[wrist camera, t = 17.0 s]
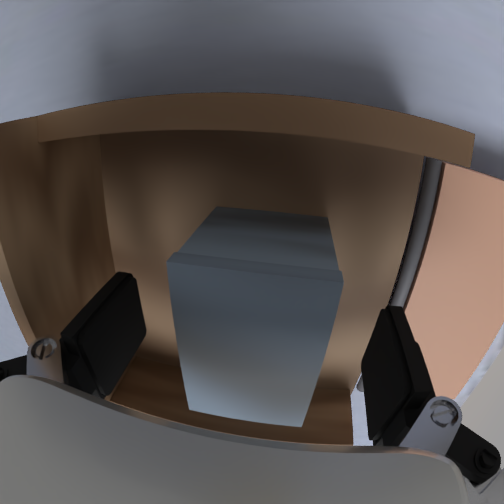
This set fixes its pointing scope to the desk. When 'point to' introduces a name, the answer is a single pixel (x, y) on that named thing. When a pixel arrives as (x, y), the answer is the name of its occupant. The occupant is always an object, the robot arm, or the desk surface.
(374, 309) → the brown open box
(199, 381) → the blue gray block
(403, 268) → the panel
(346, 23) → the desk surface
